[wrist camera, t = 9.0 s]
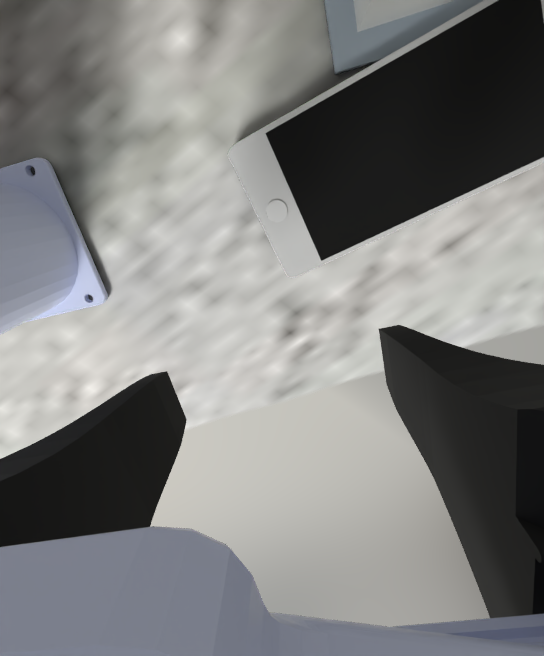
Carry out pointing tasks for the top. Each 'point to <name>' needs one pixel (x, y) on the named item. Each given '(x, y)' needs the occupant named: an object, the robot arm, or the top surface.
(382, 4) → the charger plug
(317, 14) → the top surface
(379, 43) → the sticky note
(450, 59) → the smartphone
